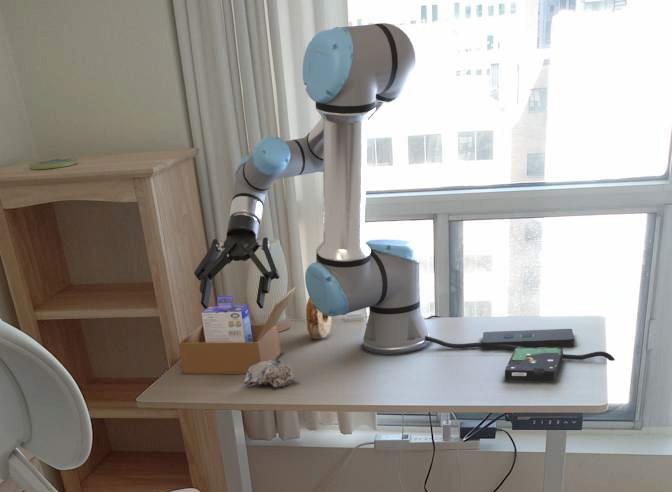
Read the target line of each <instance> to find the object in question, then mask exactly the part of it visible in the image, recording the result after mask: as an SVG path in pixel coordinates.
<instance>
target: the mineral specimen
mask: <svg viewBox="0 0 672 492" xmlns="http://www.w3.org/2000/svg"><path fill="white" fill-rule="evenodd" d="M295 382H296V381H295V375H294V374H293V371H292V368H291V367H289V366H288V365H286V364H284V363H283V362H282V361H281V359H278V358H276V359H274V360H269V361H264V362H259V363H258V364H256V365H253V366H251V367H250V368H249V369H248V372H247V374H245V377H244V379H243V384H244V385H248V387H253V386H254V385H260V386H261V385H262V384H263V385H265V386H266V385H267V384H270V385H271V386H272V387H273V388H280V387H281V388H283V387H285V386H289V385H291V384H293V383H295Z"/></svg>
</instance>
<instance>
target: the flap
mask: <svg viewBox="0 0 672 492" xmlns="http://www.w3.org/2000/svg"><path fill="white" fill-rule="evenodd" d="M296 289H297V287H296V286H293V287H292V288H291V289H290V290H289V291H288V292H287V293H286V294H285V295H284V296H283V297H281V298H280V299H279V300H278V301H277V302H276V303H275V305H274V307H273V308H272V310H271V312H270V314H269V316H268V318H267V320H266V322H265V323H264V324H265V325H264V327H263V329H262V331H261V333H260V335H259V337H258V338H257V340H259V339H260V338H261V337H262V336H263V335H264V334H265V333H267V332H268V331H269V330H270V329H271V328H272V327H273V326H274V325H275V324H277V323H278V322H279V320H280V318H281V316H282V315H283V313H284V311H285V309H286V307H287V305H288V303H289V302H290V300H291V298H292V296H293V294H294V292H295V290H296Z"/></svg>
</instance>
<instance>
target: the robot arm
mask: <svg viewBox="0 0 672 492" xmlns="http://www.w3.org/2000/svg"><path fill="white" fill-rule="evenodd" d="M415 69H416V51H415V48H414V45H413V42H412V41H411V39H410V37H409V36H408V34H406V32H405V31H403V30H402V29H401V28H400V27H398V26H396V25H394V24H391V23H387V22H380V23H374V24H363V25H362V24H361V25H352V26H351V25H350V26H336V27H333V28H330V29H325V30H321V31H318V32H317V33H316V34H315V35H314V36H313V37H312V38H311V40H310V41H309V42H308V45H307V47H306V49H305V52H304V55H303V61H302V81H303V85H304V86H306V87H305V92H306V94H307V95H308V97H309V98H310V99H311V100H312V101H313V102H314V103H315V110H316V111H317V112H318V113H319V115H320V116H321V118H320V119H319V120H318V122H317V123H316V124H315V125H314V126H313V128H312V129H311V130H310V131H309V132H308V133H307V135H305V137H301V138H295V139H289V140H284V138H282V137H280V136H276V135H272V134H271V135H266V136H264V137H263V138H262V139H260V141H259V143H258V144H256V146H254V148H253V150H252V152H251V154H250V155H247V156H245V157H242V158H241V159H240V160H239V161H238V164H237V169H236V170H235V173H234V175H235V179H234V185H233V193H232V197H231V198H232V199H231V204H230V211H229V216H228V218H229V219H228V223H227V228H226V237H225V240H224V241H218V239H217V238H214V239H213V240H212V242H211V245H210V248H209V249H208V250H207V252H206V254H205V255H204V257H203V258H202V260H201V261H200V263H199V264H198V266H197V267H196V269H195V270H194V272H193V274H194V276H195V277H196V279H197V280H198V281H200V283H199V293H201V298H200V304H201V306H202V307H203V309H204V310H205V309H206V308H208V307H210V306H209V305H210V299H211V294H212V286H213V283H212V280H213V278H215V277H216V276H217V275H218V274H219V272H221V271H222V270H223V269H224V268H225V267H226V266H227V265H229V264H231V263H232V262H240V261H241V262H242V261H243V262H247V261H248V260H249V259H250V260H251V262H253V264H254V265H255V266H256V268H257V269H258V270H259V273H261V275H260V276H259V283H258V289H257V294H256V295H257V296H256V305H257V306H258V307H259V309H264V305H265V298H266V294H269V293H270V289H271V284H272V281H273V280H274V279H275V280H279V279H280V273H279V270H278V267H277V264H276V262H275V260H274V256H273V254H272V245H271V243H270V240H269V239H268V237H263V239H262V240H259V239H260V233H261V232H260V231H261V225H262V222H263V221H262V219H263V214H264V206H265V202H266V201H265V200H266V196H267V192H268V191H269V190H270V188H271V187H272V186H273V185H274V184H275V182H276V181H278V180H283V179H287V178H292V177H298V176H302V175H308V174H314V173H322V172H323V173H322V174H323V176H322V177H323V179H322V181H323V183H322V184H323V189H322V190H323V194H322V195H323V199H322V201H323V211H322V212H323V216H322V217H323V218H322V219H323V220H322V221H323V225H322V226H323V227H322V228H323V229H322V230H323V237H322V238H323V240H322V242H321V243H320V244H319V245H318V246H317V247H316V251H315V253H316V254H315V259H316V260H315V261H316V262H311V264H309V265H308V266H307V268H306V269H305V273H304V274H305V275H304V276H305V277H304V280H305V287H306V291H307V294H308V296H309V298H310V299H311V300H312V302H313V304H314V306H315V307H316V308H317V309H318V310H319V311H320V312H321V313H322V314H324V315H326V316H330V317H331V318H333V317H337V316H346V315H347V314H350V313H353V312H357V311H360V310H364V309H367V308H368V310H369V313H368V318H367V322H366V324H365V325H366V326H365V329H364V335H363V348H364V349H365V350H366V351H368V352H370V353H375V354H380V355H400V354H408V353H412V352H416V351H419V350H422V349H424V348H426V347H427V346H428V345H429V343H430V342H431V343H434V344H437V345H440V346H442V347H445V348H451V349H469V348H470V349H471V348H483V342H469V343H451V342H446V341H445V340H442V339H437V338H435V337H432V336H430V334H429V330H428V327H427V325H426V321H425V318H424V316H423V313H422V309H421V295H420V259H419V251H418V246H417V245H416V244H415V243H414V242H412V241H407V240H401V239H370V240H368V241H366V242H365V217H366V216H365V214H366V179H367V178H366V177H367V144H368V143H367V142H368V141H367V139H368V121H369V120H370V119H371V118H372V117H373V116H374V115H375V114H376V113H377V112H378V110H380V109H381V107H382V106H384V104H385V103H387V104H388V103H391V102H393V101H395V100H396V99H397V98H398V97H399V96H400V95H401V94H402V93H403V92H404V91H405V89H406V88H407V87H408V86H409V84H410V82H411V80H412V78H413V77H414V74H415ZM259 249H261V250H262V251H263V253H264V255H265V258H266V260H267V264H268V266H269V269H270V271H268V269H267V268H266V267H265V265H264V264H263V263H262V262H261V260H260V259H259V257H258V256H257V255H256V252H257V251H258V250H259ZM219 254H220V255H219ZM495 347H496V348H502V349H501V350H510V351H514V350H515V349H517V348H518V347H519V346H513V345H505V344H497V345H495ZM520 348H525V347H520ZM595 357H596V358H597V357H603V358H605V359H607V360H608V361H611V362H612V361H613V362H614V361H616V358H615V357H614V356H613V355H612V354H611V353H608V352H605V351H594V352H593V351H592V352H589V353H584V354H566V353H563V359H562V360H576V361H577V360H579V361H580V360H587V359H591V358H595Z"/></svg>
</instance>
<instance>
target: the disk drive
mask: <svg viewBox="0 0 672 492" xmlns="http://www.w3.org/2000/svg"><path fill="white" fill-rule="evenodd" d="M563 354H564V348H563V347H538V348H520V347H518V348H517V349H515V350H512V354H511V355H510V358H509V361H508V362H507V365H506V367H505V370H504V381H507V382H517V383H518V382H519V383H555V382H556V380H557V378H558V374H559V371H560V368H561V364H562V362H563V360H564V359H563Z"/></svg>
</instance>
